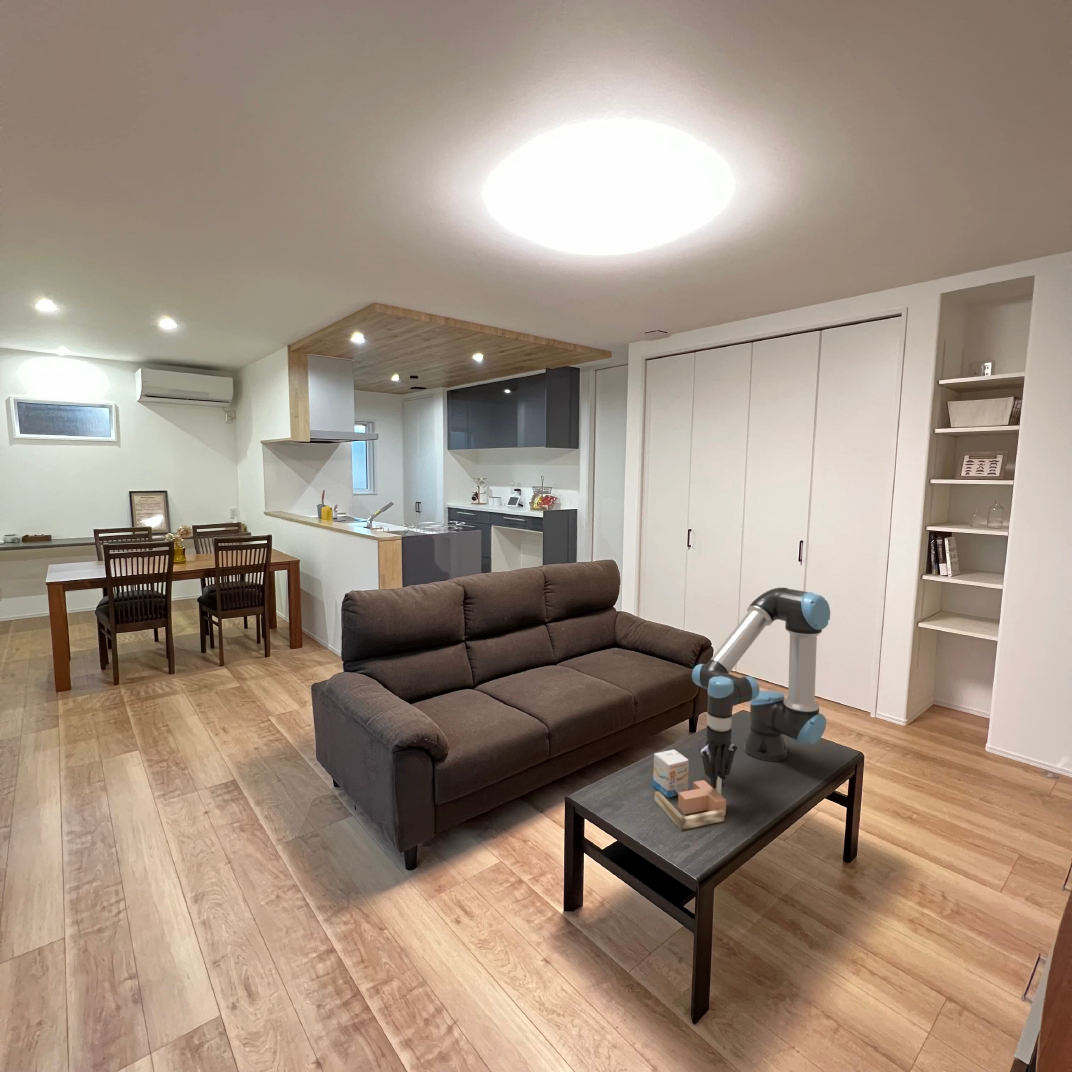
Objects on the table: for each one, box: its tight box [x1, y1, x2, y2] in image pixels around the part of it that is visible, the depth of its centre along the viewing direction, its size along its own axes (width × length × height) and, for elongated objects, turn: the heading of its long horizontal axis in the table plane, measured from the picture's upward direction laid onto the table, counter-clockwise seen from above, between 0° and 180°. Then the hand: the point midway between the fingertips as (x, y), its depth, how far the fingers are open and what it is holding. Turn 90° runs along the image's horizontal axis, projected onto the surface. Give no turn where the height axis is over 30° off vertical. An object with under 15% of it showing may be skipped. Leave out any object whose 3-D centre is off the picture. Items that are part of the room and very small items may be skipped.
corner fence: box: [654, 790, 725, 831], centre depth 180 cm, size 15×16×3 cm
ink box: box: [652, 749, 690, 799], centre depth 191 cm, size 9×8×12 cm
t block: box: [677, 779, 727, 816], centre depth 181 cm, size 12×12×5 cm
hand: (716, 796), depth 183 cm, fingers closed
